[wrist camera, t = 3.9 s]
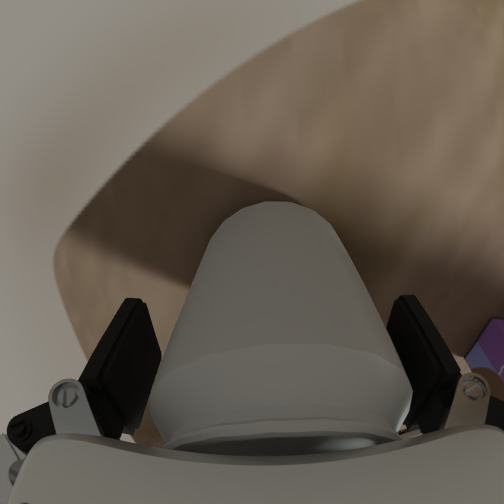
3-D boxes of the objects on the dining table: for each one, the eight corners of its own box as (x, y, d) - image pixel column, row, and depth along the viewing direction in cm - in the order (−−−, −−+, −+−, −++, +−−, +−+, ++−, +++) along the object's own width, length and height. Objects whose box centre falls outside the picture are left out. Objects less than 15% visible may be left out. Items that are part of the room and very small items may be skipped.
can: (222, 320, 18) (189, 507, 7) (194, 206, 15) (68, 404, 4) (341, 307, 17) (391, 493, 6) (338, 188, 14) (483, 372, 3)
